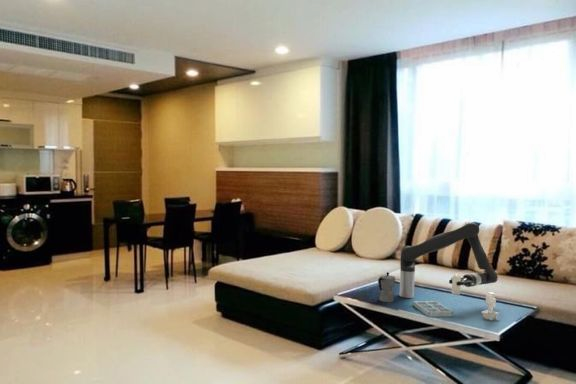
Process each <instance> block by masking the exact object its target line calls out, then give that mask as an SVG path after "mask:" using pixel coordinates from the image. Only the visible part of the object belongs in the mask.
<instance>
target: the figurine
mask: <svg viewBox="0 0 576 384" xmlns="http://www.w3.org/2000/svg"><path fill="white" fill-rule="evenodd" d="M485 304H486V305H487V309H485V310H483V311H480V312H481V314H482V316H483V318H484V319H485V320H488V319H489V320H488V321H493V320H496V319H497V317H498V315H500V312H498V311H494V308H496V306H497V300H496V298H495V293H494V292H491V291H488V294H485Z"/></svg>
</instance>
